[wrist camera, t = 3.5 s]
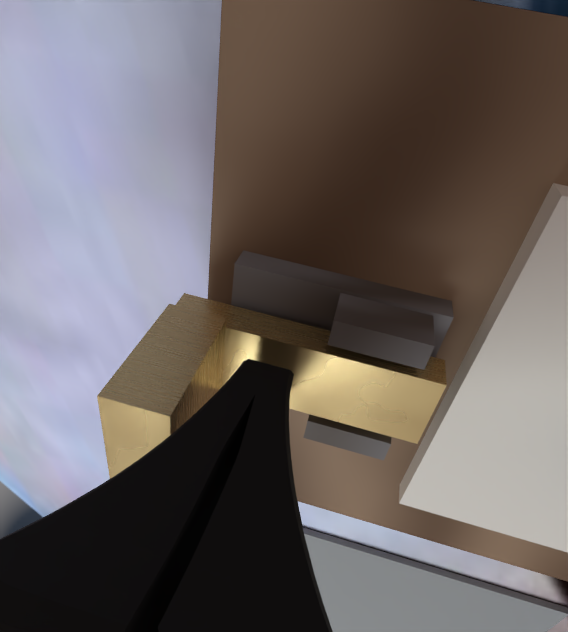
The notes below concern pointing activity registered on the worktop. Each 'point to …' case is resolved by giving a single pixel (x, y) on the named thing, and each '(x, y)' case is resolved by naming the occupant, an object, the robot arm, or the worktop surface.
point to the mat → (415, 594)
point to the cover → (508, 403)
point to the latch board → (384, 203)
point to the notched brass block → (264, 346)
